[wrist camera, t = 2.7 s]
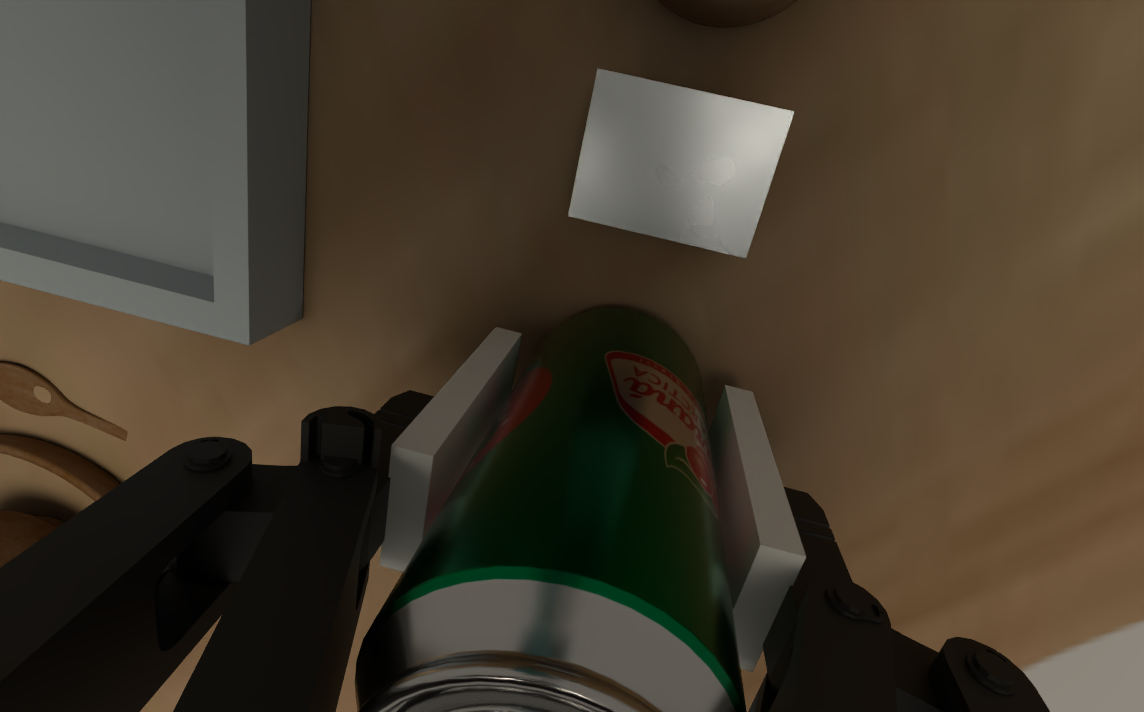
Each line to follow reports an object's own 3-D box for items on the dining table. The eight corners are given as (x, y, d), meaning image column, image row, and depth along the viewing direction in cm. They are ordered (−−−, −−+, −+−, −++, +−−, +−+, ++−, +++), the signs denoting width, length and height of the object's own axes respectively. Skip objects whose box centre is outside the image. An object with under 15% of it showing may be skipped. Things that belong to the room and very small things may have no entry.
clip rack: (719, -434, 11) (737, -622, 8) (931, -400, 11) (1023, -584, 8) (472, 733, 24) (447, 811, 21) (566, 761, 24) (552, 844, 21)
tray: (-185, -306, 14) (-352, -391, 12) (316, -209, 13) (242, -280, 11) (-68, 223, 19) (-170, 235, 17) (302, 318, 18) (249, 345, 16)
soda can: (729, 420, 17) (839, 936, 6) (581, 478, 19) (457, 975, 8) (654, 271, 16) (622, 584, 5) (502, 346, 18) (220, 712, 6)
